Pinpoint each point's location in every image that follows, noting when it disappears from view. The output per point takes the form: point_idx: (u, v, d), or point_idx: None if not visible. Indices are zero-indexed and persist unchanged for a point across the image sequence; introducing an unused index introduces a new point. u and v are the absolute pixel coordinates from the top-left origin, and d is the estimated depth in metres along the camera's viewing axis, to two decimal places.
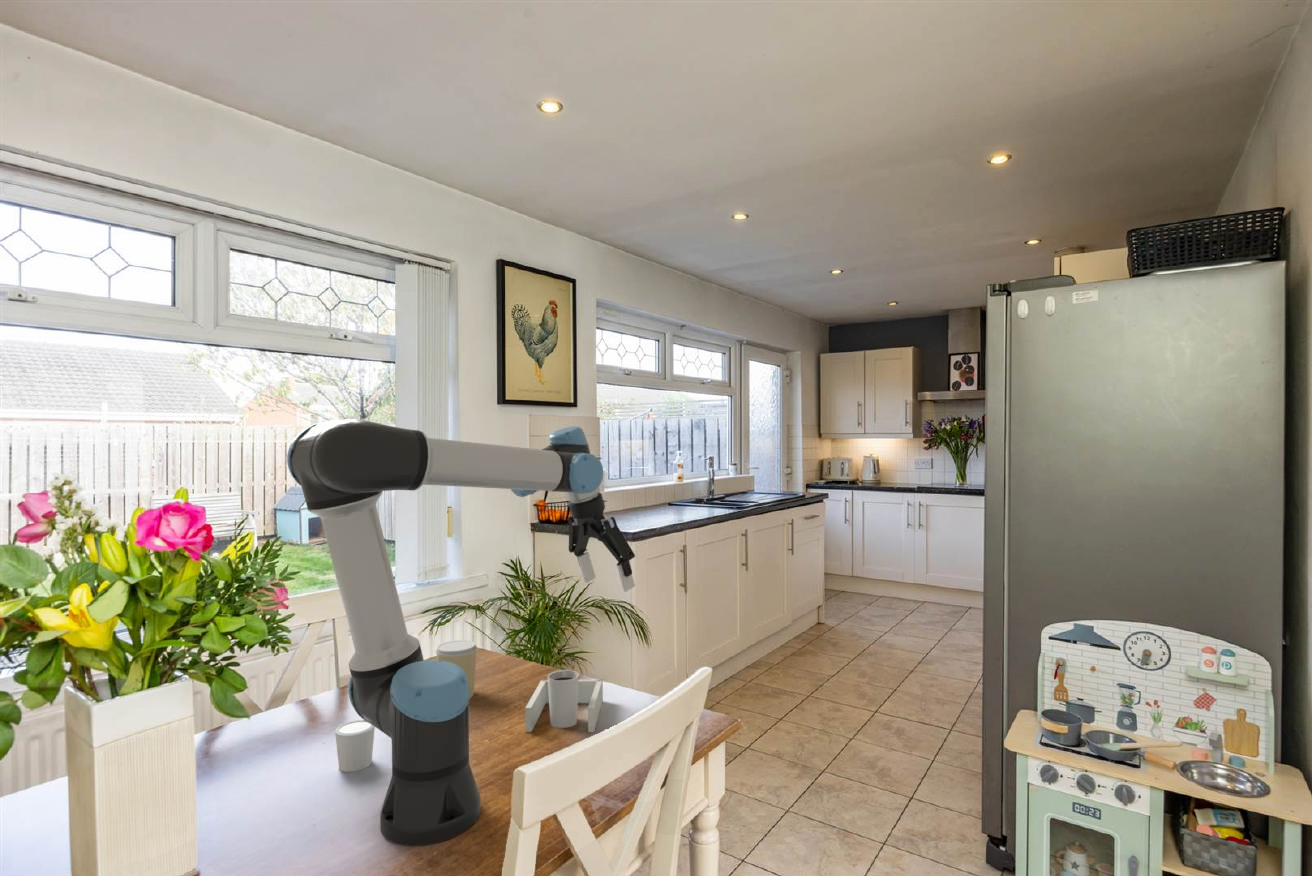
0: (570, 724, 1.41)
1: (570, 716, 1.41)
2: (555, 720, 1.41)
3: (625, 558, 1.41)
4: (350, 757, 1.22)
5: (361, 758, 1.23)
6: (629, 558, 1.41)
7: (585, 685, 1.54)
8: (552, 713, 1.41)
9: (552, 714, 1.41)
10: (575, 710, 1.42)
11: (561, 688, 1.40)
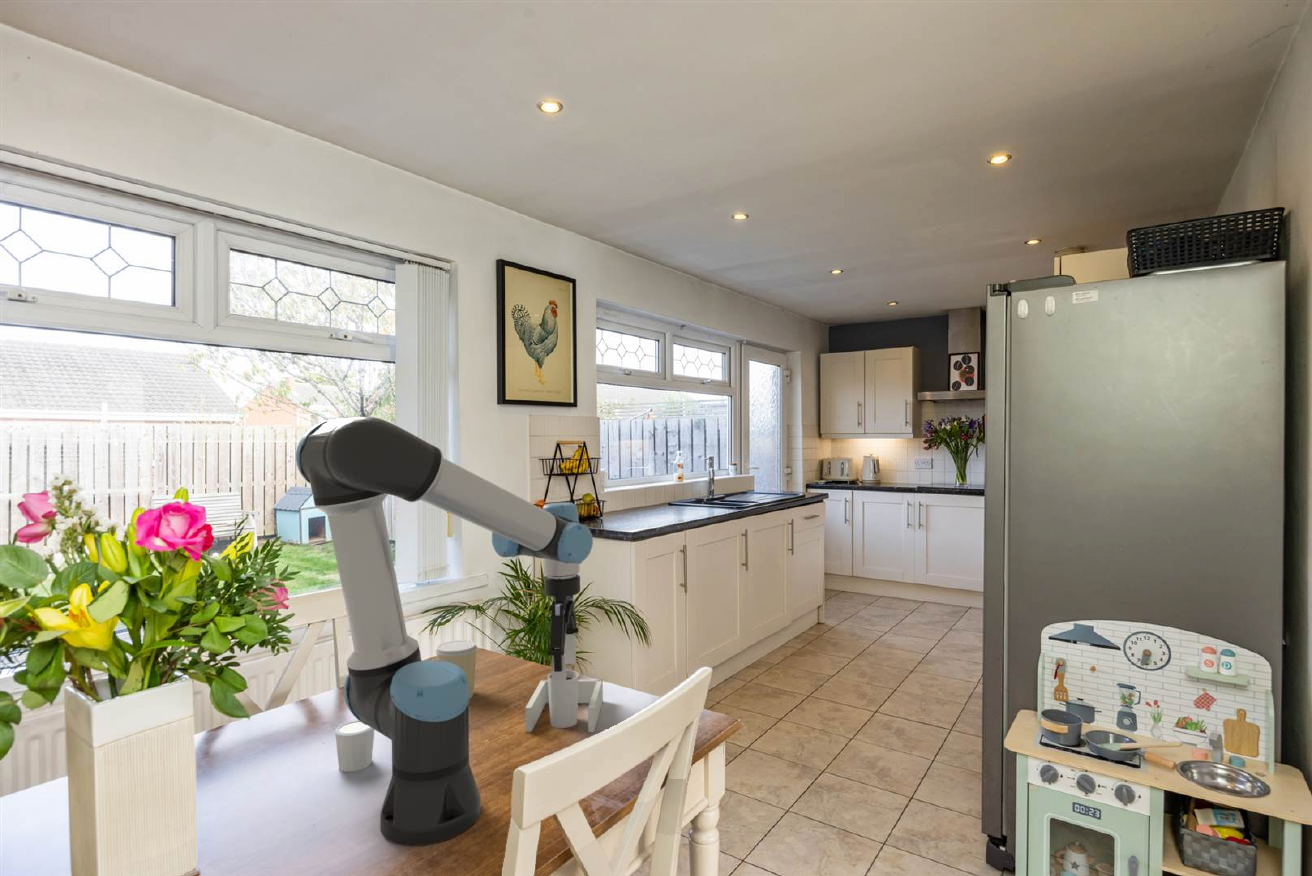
0: (570, 724, 1.41)
1: (570, 716, 1.41)
2: (555, 720, 1.41)
3: None
4: (350, 757, 1.22)
5: (361, 758, 1.23)
6: (553, 652, 1.33)
7: (585, 685, 1.54)
8: (552, 713, 1.41)
9: (552, 714, 1.41)
10: (575, 710, 1.42)
11: (561, 688, 1.40)
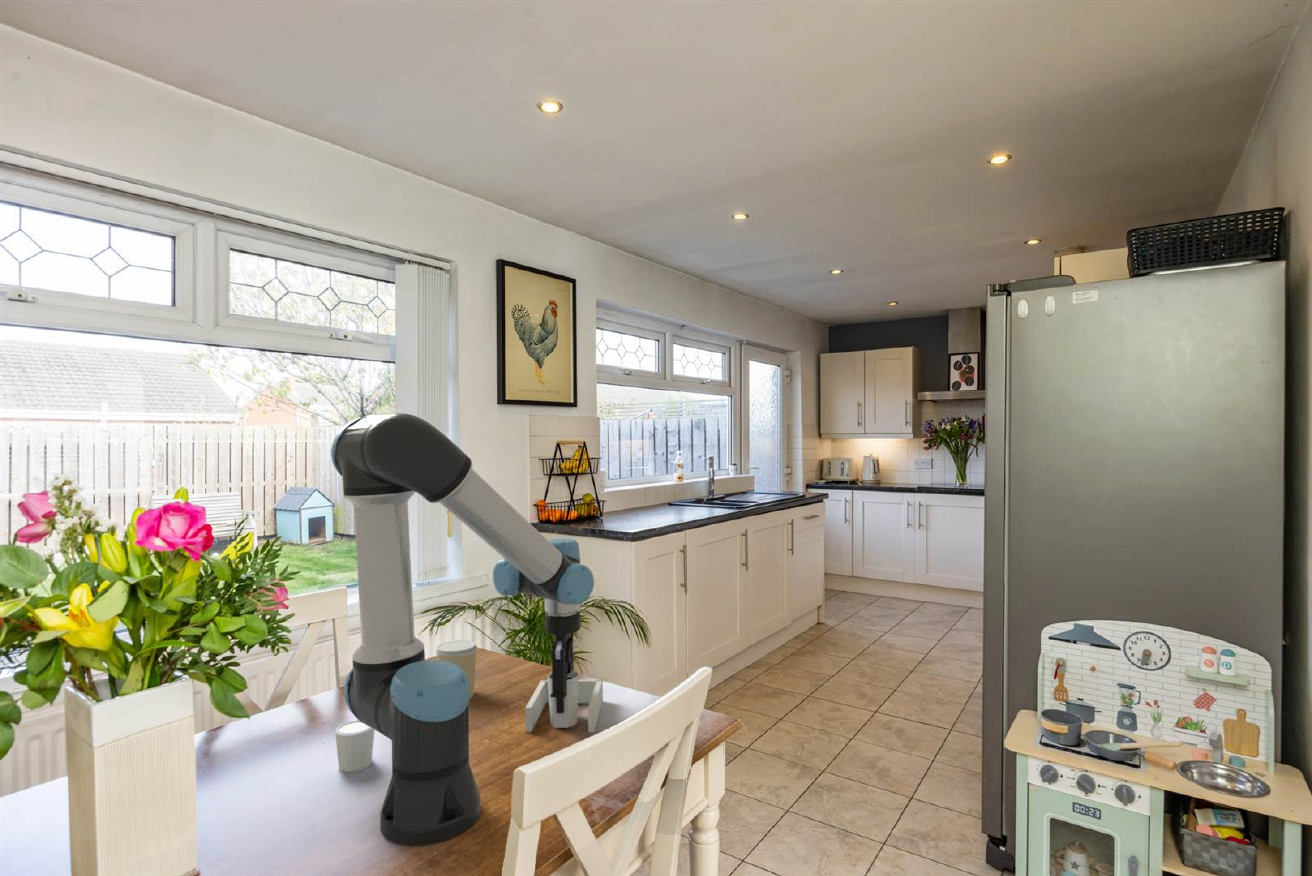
0: (570, 724, 1.41)
1: (570, 715, 1.41)
2: None
3: (552, 693, 1.37)
4: (350, 757, 1.22)
5: (361, 758, 1.23)
6: (556, 695, 1.37)
7: (585, 685, 1.54)
8: (552, 713, 1.41)
9: (552, 714, 1.41)
10: (575, 710, 1.42)
11: None
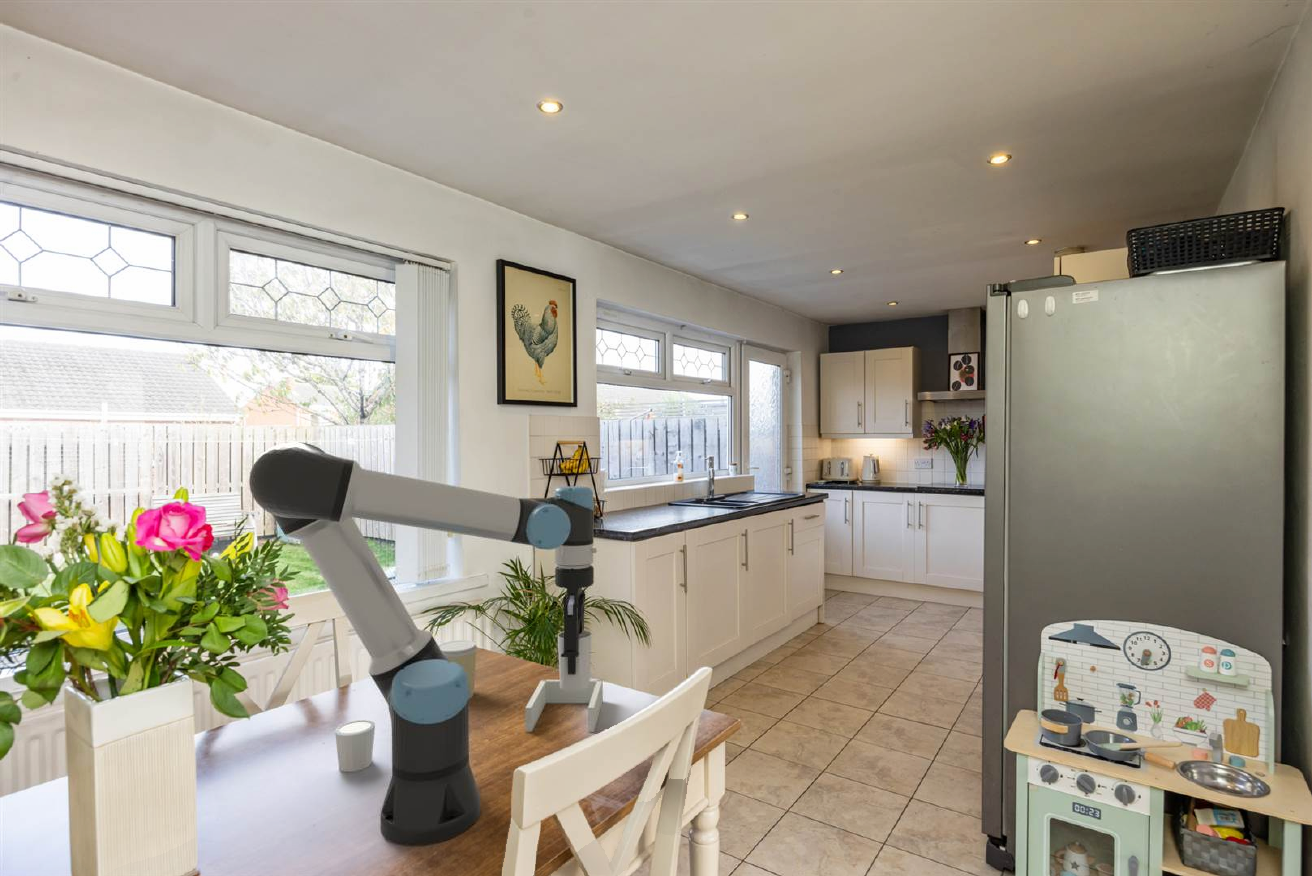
0: (582, 687, 1.29)
1: (582, 678, 1.29)
2: None
3: (564, 652, 1.25)
4: (350, 757, 1.22)
5: (361, 758, 1.23)
6: (568, 654, 1.25)
7: None
8: (562, 675, 1.29)
9: (562, 676, 1.29)
10: (588, 672, 1.30)
11: None
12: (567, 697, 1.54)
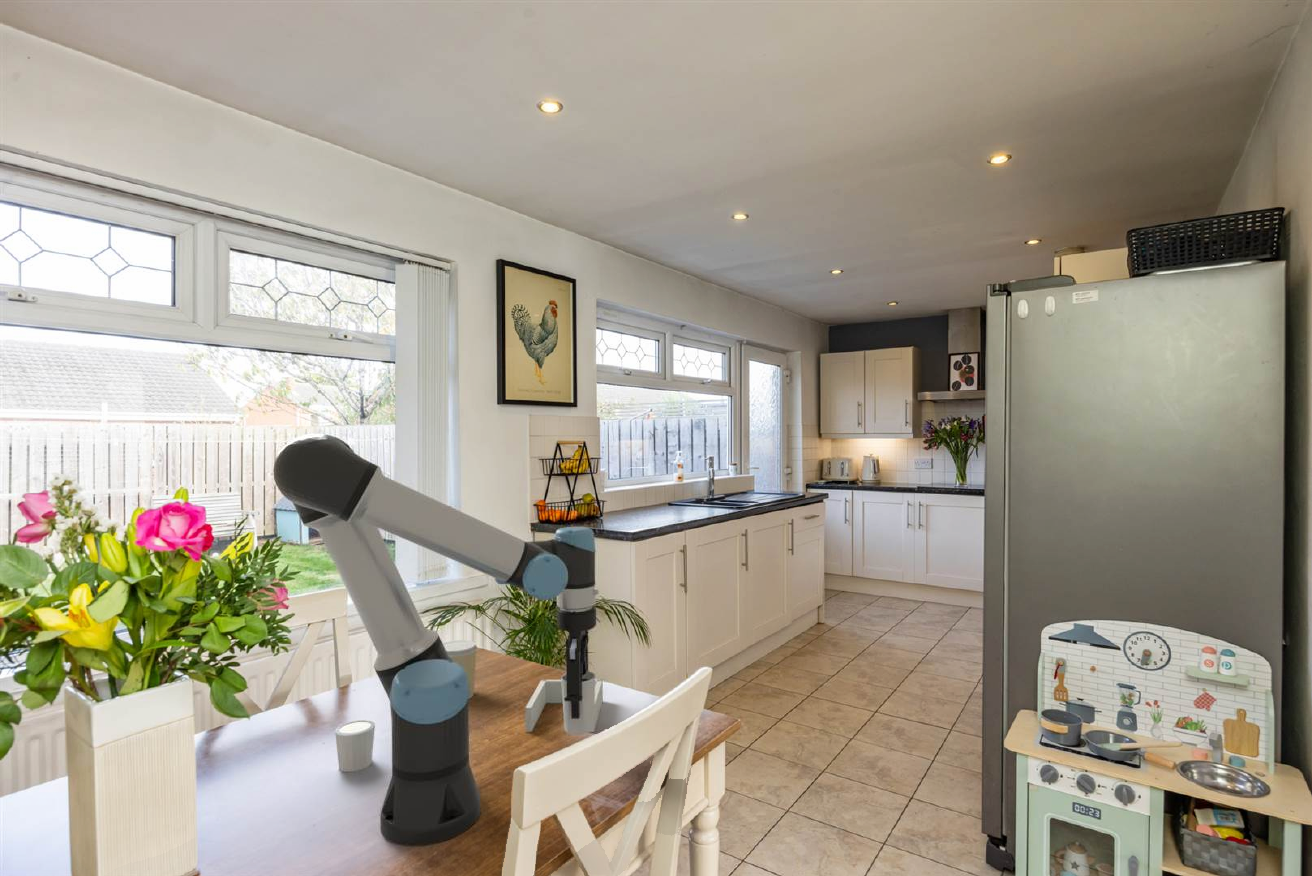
0: (586, 730, 1.28)
1: (586, 721, 1.28)
2: None
3: (566, 697, 1.24)
4: (350, 757, 1.22)
5: (361, 758, 1.23)
6: (571, 699, 1.24)
7: None
8: (567, 718, 1.28)
9: (567, 719, 1.28)
10: (592, 715, 1.29)
11: None
12: None
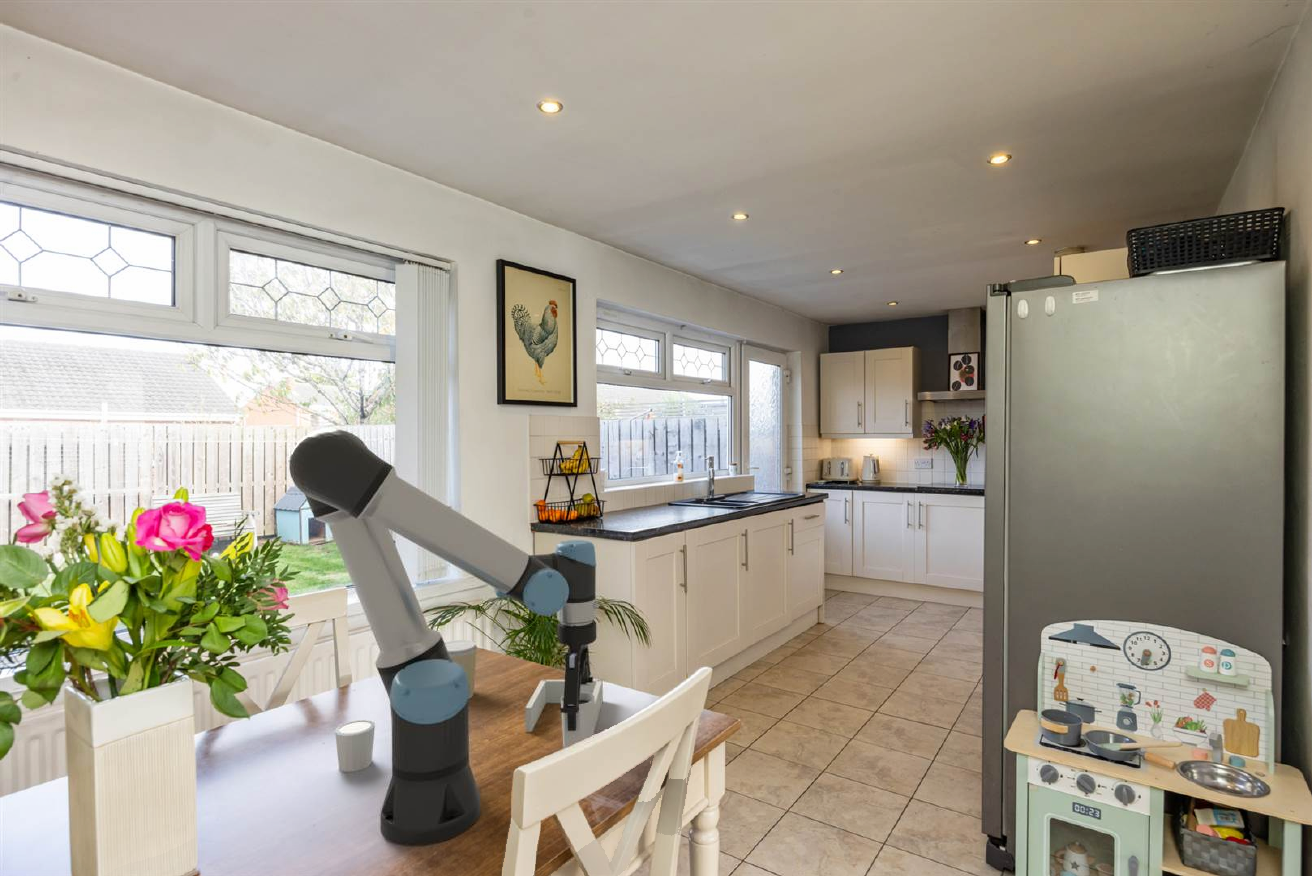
0: None
1: None
2: None
3: (563, 708, 1.20)
4: (350, 757, 1.22)
5: (361, 758, 1.23)
6: (567, 710, 1.20)
7: None
8: None
9: None
10: None
11: None
12: None
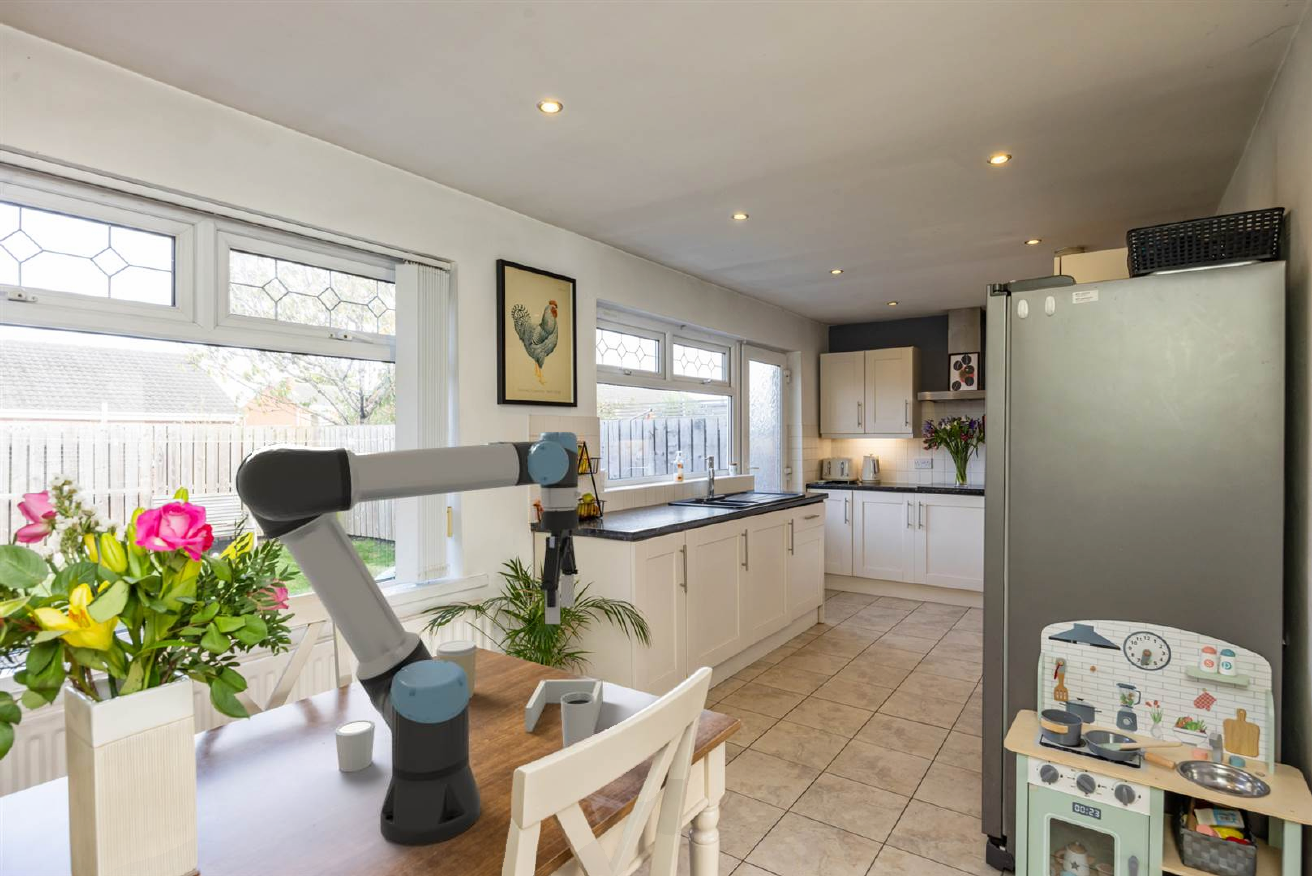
0: None
1: None
2: None
3: (542, 583, 1.25)
4: (350, 757, 1.22)
5: (361, 758, 1.23)
6: (546, 585, 1.24)
7: (585, 685, 1.54)
8: (566, 740, 1.28)
9: (566, 741, 1.28)
10: None
11: (576, 713, 1.27)
12: None
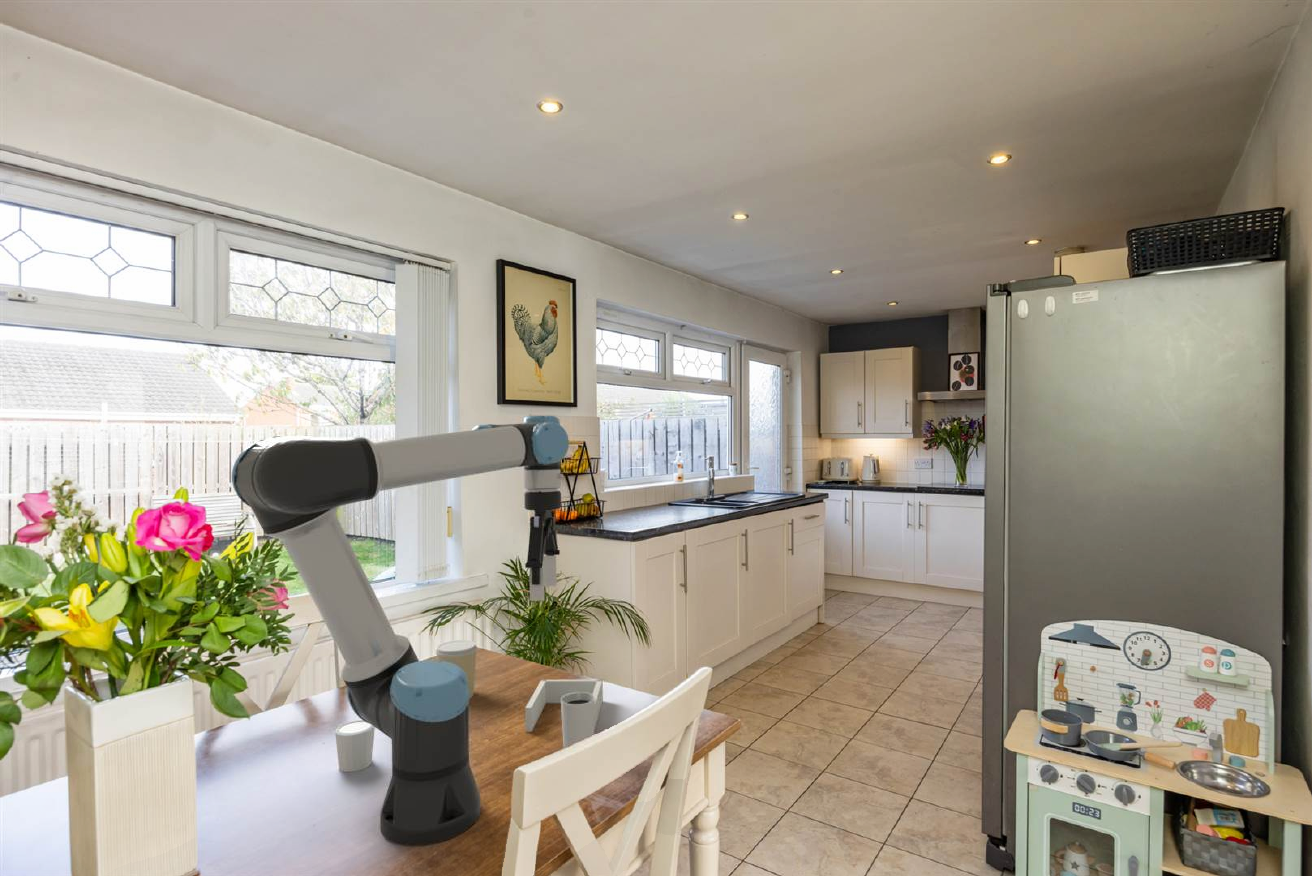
0: None
1: None
2: None
3: (527, 561, 1.29)
4: (350, 757, 1.22)
5: (361, 758, 1.23)
6: (531, 563, 1.29)
7: (585, 685, 1.54)
8: (566, 740, 1.28)
9: (566, 741, 1.28)
10: None
11: (576, 713, 1.27)
12: None
